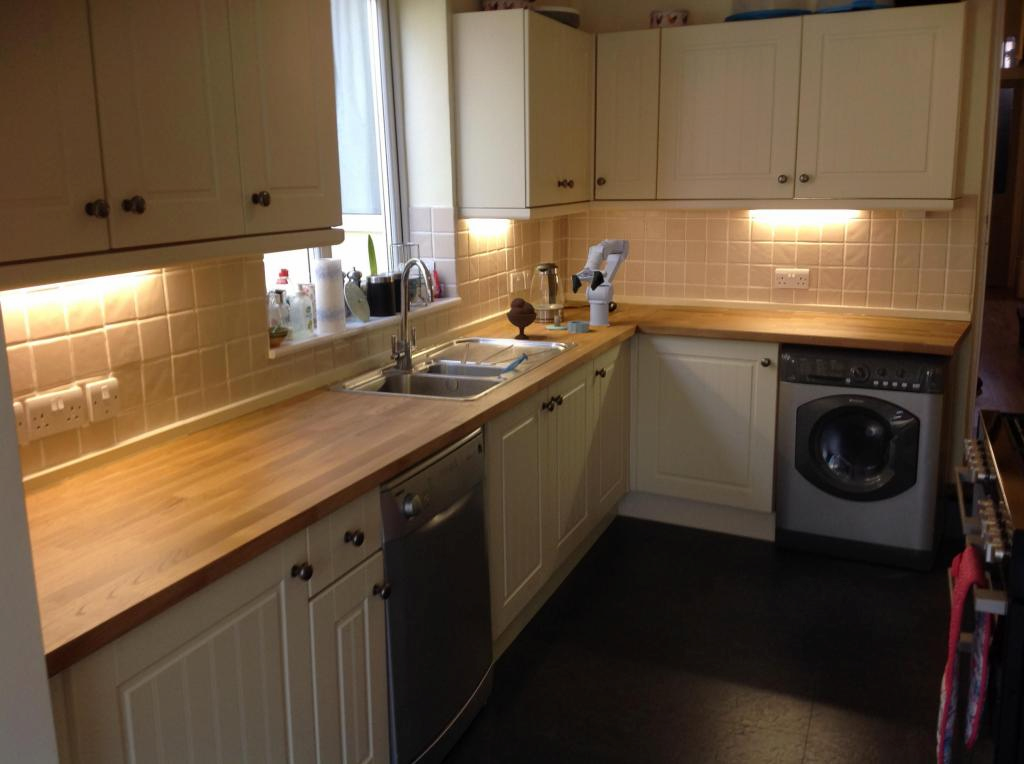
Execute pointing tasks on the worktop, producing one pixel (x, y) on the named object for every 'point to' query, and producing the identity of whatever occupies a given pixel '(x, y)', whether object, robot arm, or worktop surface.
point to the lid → (557, 325)
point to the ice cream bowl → (521, 316)
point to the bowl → (578, 326)
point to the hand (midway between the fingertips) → (583, 290)
